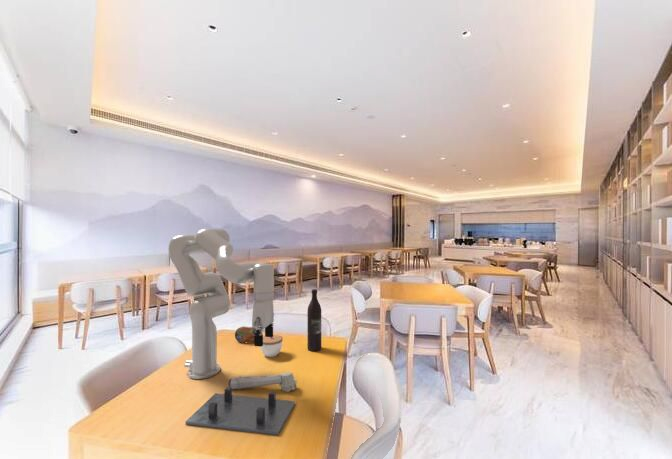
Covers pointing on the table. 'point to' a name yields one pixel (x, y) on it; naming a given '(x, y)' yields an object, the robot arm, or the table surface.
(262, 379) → the white handheld device
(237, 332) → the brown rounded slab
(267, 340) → the lidded jar
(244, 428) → the peg stand
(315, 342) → the wine bottle
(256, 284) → the robot arm
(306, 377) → the table surface
